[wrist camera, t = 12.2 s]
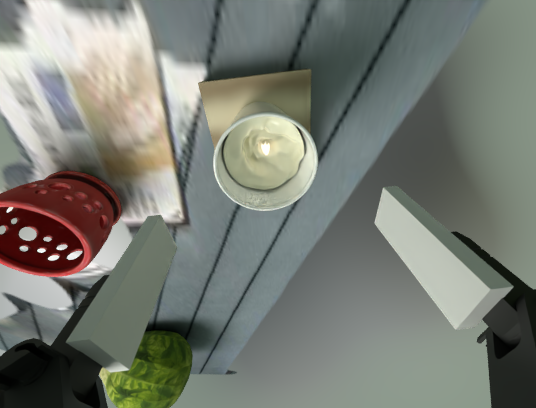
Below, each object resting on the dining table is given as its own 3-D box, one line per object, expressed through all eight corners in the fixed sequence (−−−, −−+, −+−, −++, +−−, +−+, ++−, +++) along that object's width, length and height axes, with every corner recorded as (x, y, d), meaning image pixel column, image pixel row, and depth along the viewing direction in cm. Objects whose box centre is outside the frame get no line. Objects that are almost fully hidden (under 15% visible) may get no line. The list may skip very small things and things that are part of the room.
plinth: (202, 81, 28) (198, 83, 26) (305, 68, 28) (311, 69, 26) (225, 175, 36) (223, 183, 33) (305, 165, 36) (310, 172, 33)
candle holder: (306, 107, 28) (336, 131, 18) (282, 172, 33) (296, 218, 23) (233, 84, 26) (223, 96, 16) (220, 156, 31) (206, 200, 21)
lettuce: (121, 307, 56) (60, 398, 42) (206, 332, 58) (173, 426, 45) (128, 327, 68) (82, 403, 54) (198, 347, 70) (170, 425, 57)
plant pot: (129, 232, 42) (91, 285, 32) (50, 214, 38) (-21, 268, 28) (133, 177, 35) (87, 221, 25) (38, 149, 32) (-59, 188, 22)
